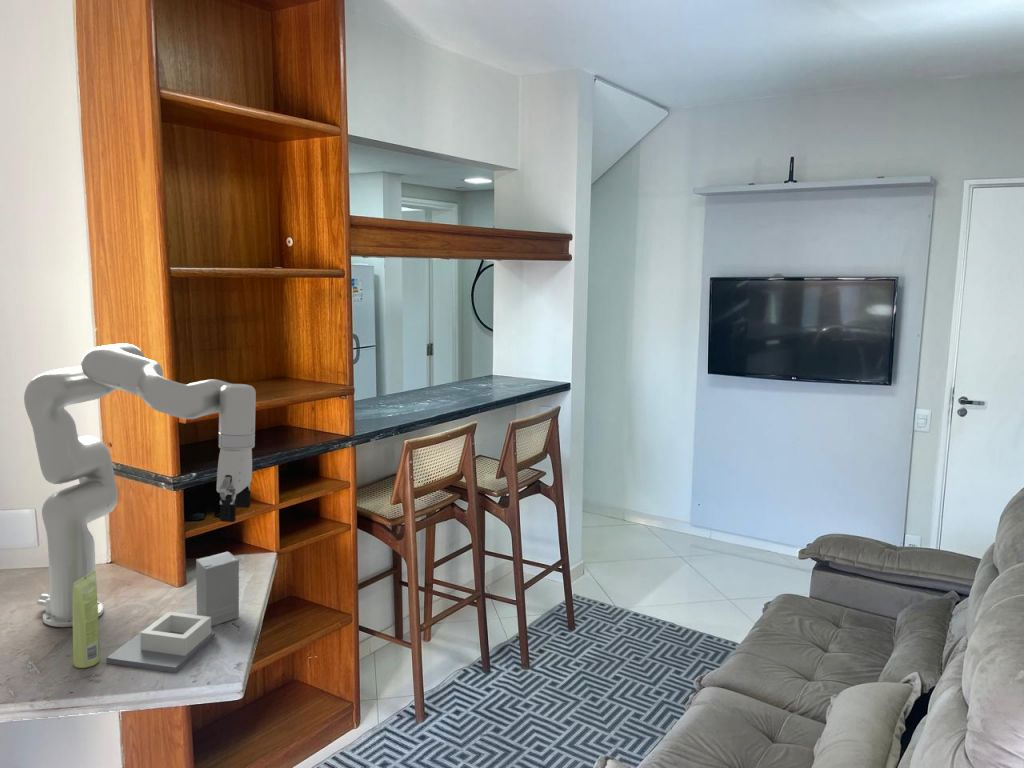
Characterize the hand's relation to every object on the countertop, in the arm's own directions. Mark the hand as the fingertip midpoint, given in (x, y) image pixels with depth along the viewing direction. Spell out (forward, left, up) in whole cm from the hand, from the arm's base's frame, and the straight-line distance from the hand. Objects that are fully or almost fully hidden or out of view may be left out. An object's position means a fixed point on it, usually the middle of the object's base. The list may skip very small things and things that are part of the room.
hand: (235, 514), depth 167 cm
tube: (-25, -16, -31) cm, 43 cm away
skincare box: (-9, +9, -31) cm, 33 cm away
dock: (-13, -7, -31) cm, 34 cm away
